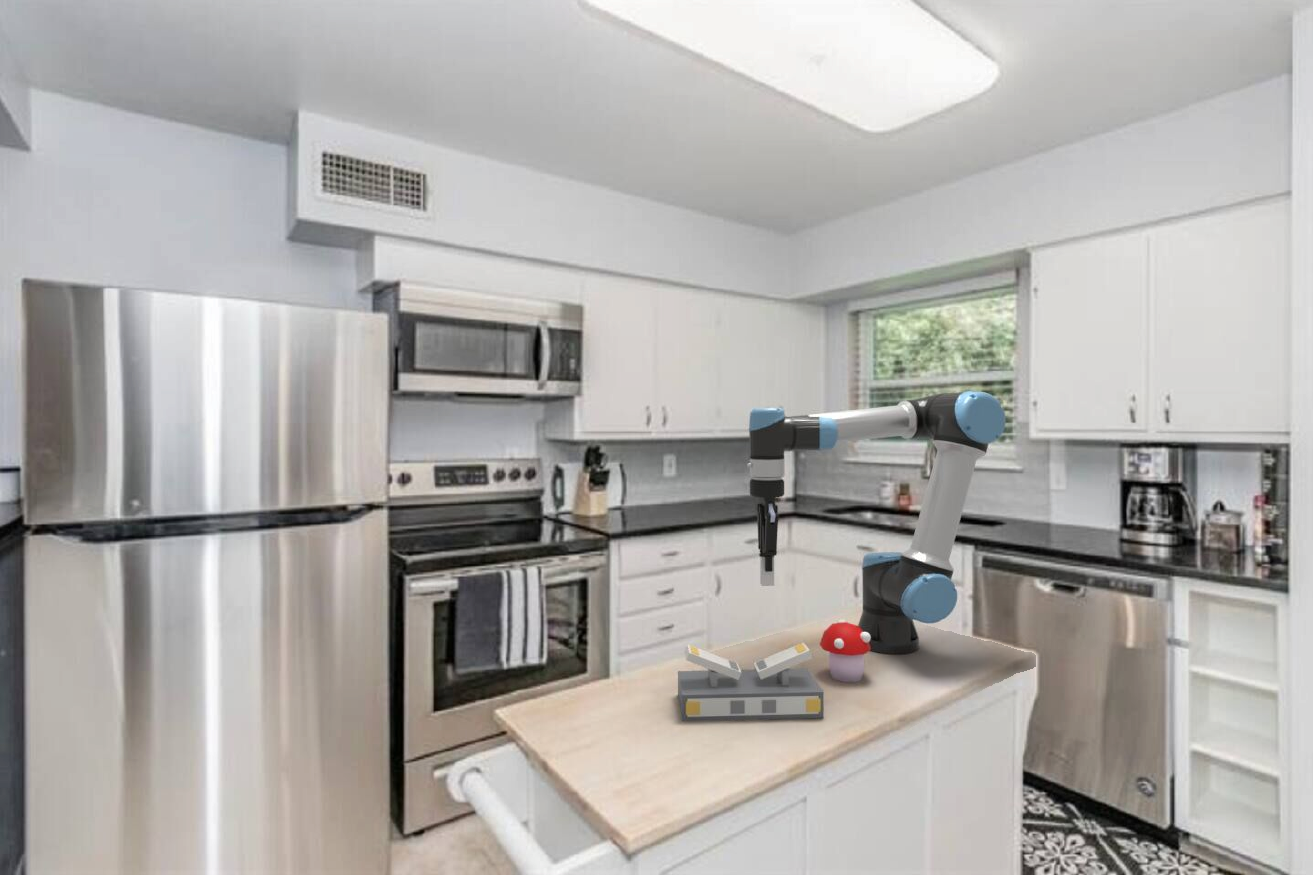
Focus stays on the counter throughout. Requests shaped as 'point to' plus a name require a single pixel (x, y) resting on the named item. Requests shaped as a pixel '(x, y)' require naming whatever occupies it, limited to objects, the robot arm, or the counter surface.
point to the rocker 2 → (782, 660)
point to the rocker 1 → (712, 662)
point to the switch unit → (749, 696)
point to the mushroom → (845, 650)
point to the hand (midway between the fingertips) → (767, 584)
